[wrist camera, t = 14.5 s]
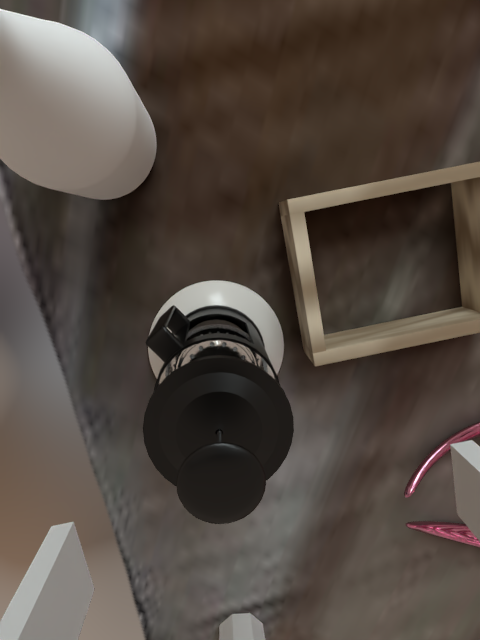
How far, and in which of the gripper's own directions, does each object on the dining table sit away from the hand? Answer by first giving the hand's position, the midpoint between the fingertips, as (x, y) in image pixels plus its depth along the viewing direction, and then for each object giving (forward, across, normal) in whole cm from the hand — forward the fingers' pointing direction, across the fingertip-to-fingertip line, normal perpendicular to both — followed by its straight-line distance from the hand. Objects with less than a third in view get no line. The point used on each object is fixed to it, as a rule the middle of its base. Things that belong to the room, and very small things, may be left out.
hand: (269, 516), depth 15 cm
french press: (+28, -2, -2) cm, 28 cm away
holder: (+29, +15, +3) cm, 33 cm away
